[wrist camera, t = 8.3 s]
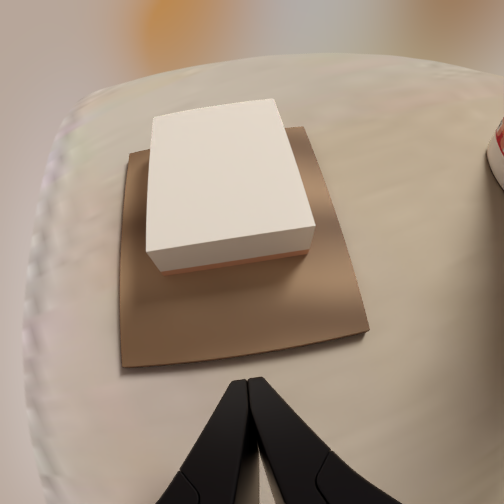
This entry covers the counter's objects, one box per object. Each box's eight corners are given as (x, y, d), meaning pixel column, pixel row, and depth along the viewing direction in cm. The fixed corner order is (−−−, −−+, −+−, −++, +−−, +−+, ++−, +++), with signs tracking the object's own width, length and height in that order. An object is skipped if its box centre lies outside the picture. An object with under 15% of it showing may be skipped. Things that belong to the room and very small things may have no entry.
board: (366, 332, 16) (369, 329, 15) (126, 367, 15) (122, 366, 15) (302, 132, 22) (303, 126, 22) (131, 158, 22) (129, 153, 21)
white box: (315, 225, 14) (273, 98, 19) (146, 251, 14) (153, 117, 19) (307, 254, 17) (273, 130, 22) (163, 276, 17) (163, 147, 21)
